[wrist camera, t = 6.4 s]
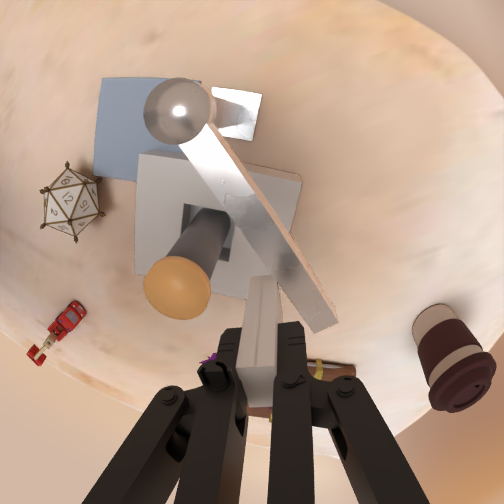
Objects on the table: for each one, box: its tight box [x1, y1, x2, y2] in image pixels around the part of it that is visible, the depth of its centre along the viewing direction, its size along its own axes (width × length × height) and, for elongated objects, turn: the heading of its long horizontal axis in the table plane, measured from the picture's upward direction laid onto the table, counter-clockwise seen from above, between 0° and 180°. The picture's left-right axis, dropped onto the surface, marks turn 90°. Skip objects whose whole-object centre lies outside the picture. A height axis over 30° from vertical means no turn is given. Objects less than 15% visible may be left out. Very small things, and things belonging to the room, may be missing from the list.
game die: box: [39, 161, 106, 243], centre depth 29 cm, size 9×8×10 cm
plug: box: [144, 207, 231, 320], centre depth 26 cm, size 5×5×14 cm
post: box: [212, 87, 262, 141], centre depth 20 cm, size 5×5×16 cm
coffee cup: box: [412, 305, 496, 413], centre depth 30 cm, size 10×10×15 cm
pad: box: [93, 78, 201, 182], centre depth 28 cm, size 12×12×1 cm
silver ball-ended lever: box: [143, 78, 339, 334], centre depth 14 cm, size 3×16×2 cm, turn 34°
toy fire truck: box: [27, 301, 86, 366], centre depth 39 cm, size 3×14×10 cm, turn 127°
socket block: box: [135, 149, 302, 300], centre depth 31 cm, size 16×14×4 cm
